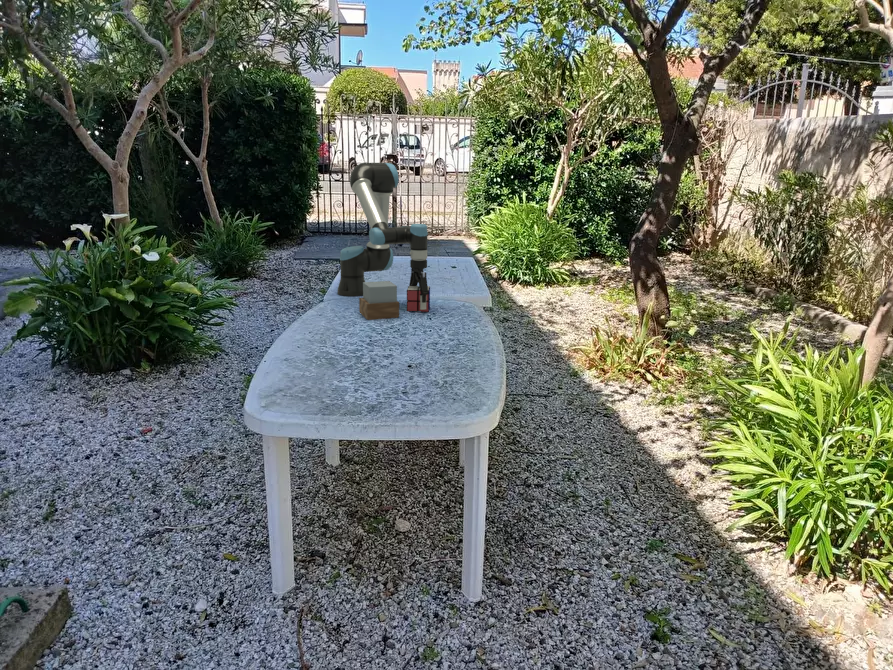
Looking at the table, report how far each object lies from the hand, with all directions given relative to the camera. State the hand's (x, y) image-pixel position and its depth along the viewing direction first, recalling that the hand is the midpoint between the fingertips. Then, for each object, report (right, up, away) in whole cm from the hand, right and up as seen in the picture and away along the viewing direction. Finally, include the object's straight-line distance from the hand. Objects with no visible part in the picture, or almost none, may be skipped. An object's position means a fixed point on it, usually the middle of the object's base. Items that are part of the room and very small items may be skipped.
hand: (418, 306), depth 289 cm
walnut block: (-17, -5, -11) cm, 21 cm away
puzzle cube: (0, -2, 0) cm, 2 cm away
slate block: (-16, +2, -13) cm, 21 cm away
